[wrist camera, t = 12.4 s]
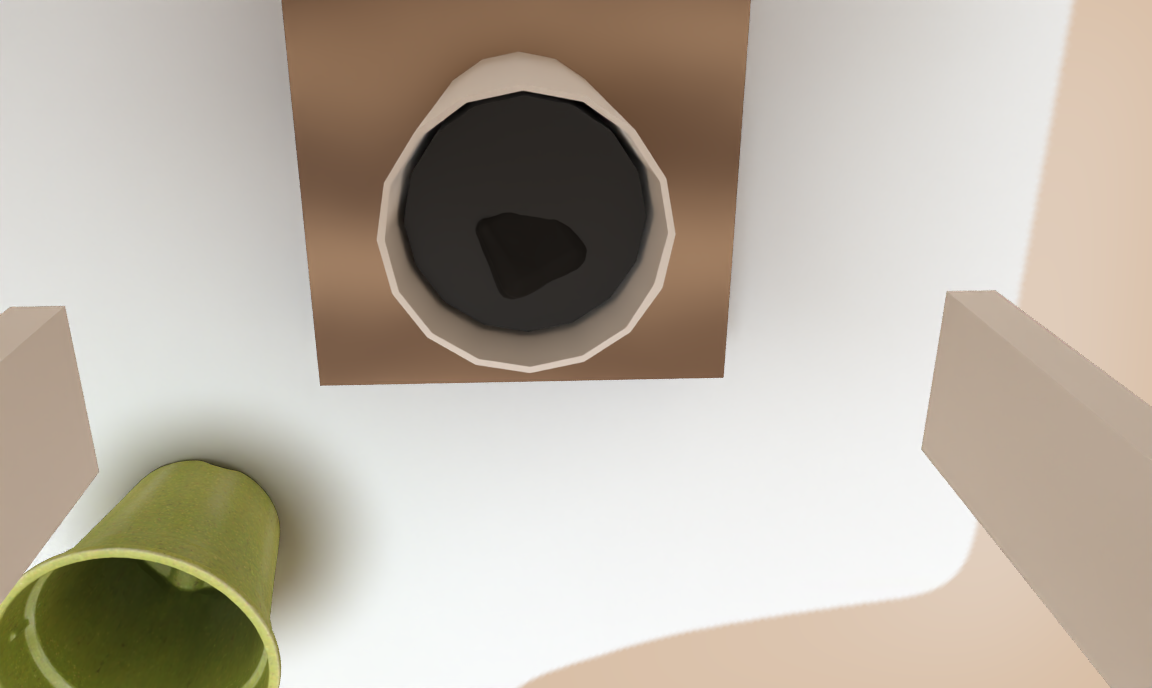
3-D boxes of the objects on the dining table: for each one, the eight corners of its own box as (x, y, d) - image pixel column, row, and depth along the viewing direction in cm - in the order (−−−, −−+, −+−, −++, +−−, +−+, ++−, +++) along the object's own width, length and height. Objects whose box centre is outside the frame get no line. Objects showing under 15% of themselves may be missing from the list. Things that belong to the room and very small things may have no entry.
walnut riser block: (296, -124, 32) (268, -131, 28) (731, -119, 32) (759, -125, 29) (338, 340, 38) (320, 385, 34) (702, 334, 39) (723, 377, 35)
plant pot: (366, 561, 42) (333, 712, 34) (175, 650, 43) (99, 815, 35) (239, 383, 38) (169, 503, 30) (35, 484, 39) (-84, 626, 31)
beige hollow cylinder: (655, 199, 32) (716, 308, 23) (468, 278, 33) (455, 414, 24) (577, 0, 30) (610, 32, 21) (377, 89, 30) (321, 159, 21)
